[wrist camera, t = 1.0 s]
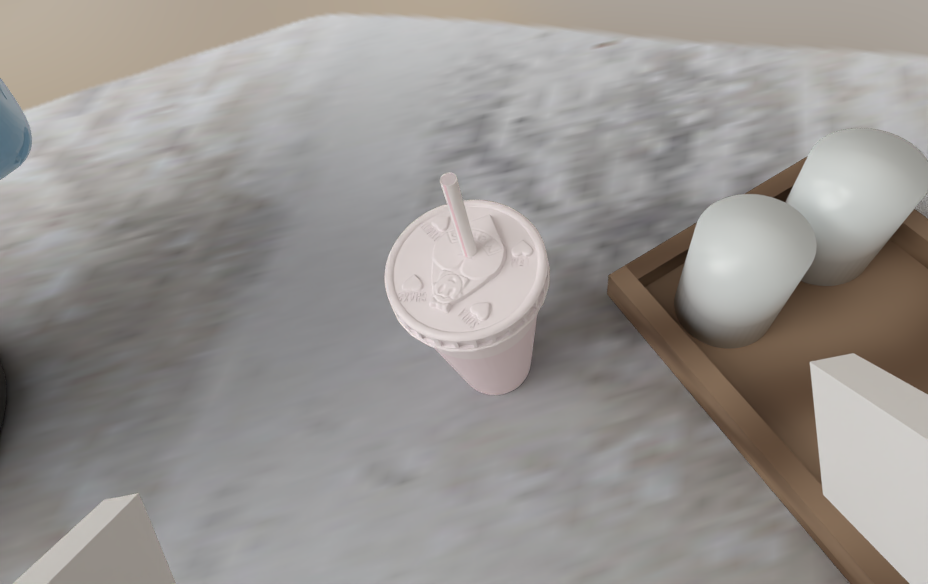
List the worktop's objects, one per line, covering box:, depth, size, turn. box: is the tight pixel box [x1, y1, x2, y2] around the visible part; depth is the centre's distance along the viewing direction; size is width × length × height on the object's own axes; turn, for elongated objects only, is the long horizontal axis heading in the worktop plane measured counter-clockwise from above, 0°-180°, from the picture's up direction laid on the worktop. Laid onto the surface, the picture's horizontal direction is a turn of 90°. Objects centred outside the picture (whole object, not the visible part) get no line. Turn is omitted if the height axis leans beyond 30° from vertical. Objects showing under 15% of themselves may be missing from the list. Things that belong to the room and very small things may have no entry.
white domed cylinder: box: [785, 128, 928, 286], centre depth 27 cm, size 5×5×6 cm
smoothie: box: [385, 173, 550, 395], centre depth 24 cm, size 6×6×14 cm
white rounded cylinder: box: [674, 194, 817, 348], centre depth 26 cm, size 5×5×6 cm
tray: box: [607, 156, 928, 584], centre depth 26 cm, size 20×14×2 cm
